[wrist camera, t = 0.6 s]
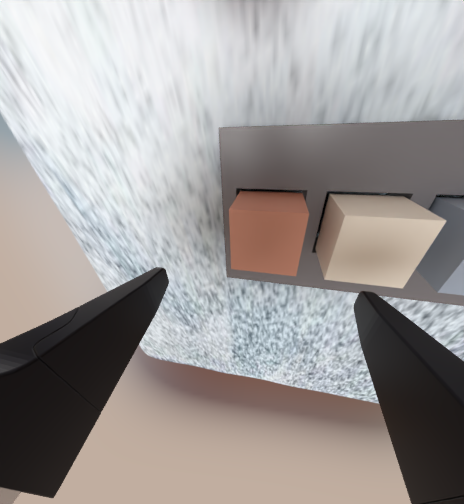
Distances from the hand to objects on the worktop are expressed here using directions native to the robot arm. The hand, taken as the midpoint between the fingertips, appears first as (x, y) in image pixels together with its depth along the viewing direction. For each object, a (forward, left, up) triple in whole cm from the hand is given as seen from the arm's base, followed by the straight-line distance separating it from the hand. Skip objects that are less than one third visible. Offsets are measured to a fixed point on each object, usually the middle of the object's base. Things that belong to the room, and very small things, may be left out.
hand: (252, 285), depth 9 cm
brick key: (0, +1, -9) cm, 10 cm away
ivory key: (-7, +1, -9) cm, 12 cm away
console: (-7, +1, -12) cm, 14 cm away
